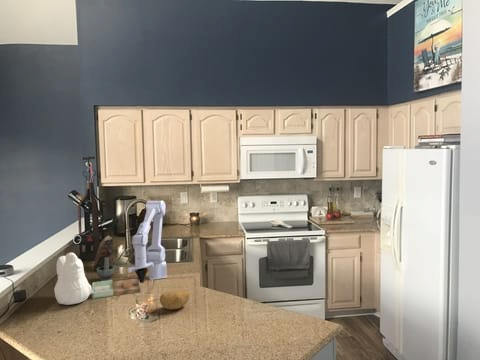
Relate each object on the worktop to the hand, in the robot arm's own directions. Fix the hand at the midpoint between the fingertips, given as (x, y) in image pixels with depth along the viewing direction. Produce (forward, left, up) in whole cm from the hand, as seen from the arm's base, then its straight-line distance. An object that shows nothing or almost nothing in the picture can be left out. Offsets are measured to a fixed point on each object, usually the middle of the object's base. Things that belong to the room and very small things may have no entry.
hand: (141, 282), depth 201 cm
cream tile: (+21, -1, -2) cm, 21 cm away
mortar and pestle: (+17, -23, -3) cm, 29 cm away
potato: (-12, +34, -3) cm, 37 cm away
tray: (+19, -2, -3) cm, 20 cm away
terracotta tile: (+7, 0, -1) cm, 7 cm away
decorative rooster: (+33, +3, -3) cm, 34 cm away
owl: (+18, -46, -3) cm, 49 cm away
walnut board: (+8, -2, -3) cm, 9 cm away
